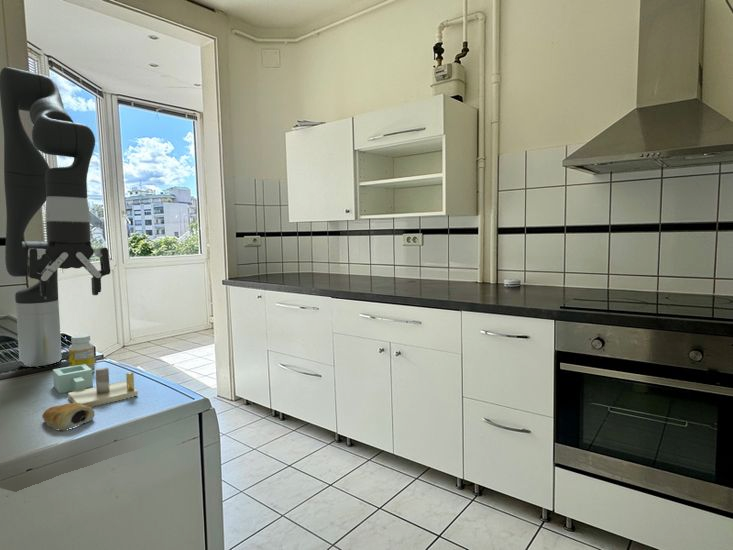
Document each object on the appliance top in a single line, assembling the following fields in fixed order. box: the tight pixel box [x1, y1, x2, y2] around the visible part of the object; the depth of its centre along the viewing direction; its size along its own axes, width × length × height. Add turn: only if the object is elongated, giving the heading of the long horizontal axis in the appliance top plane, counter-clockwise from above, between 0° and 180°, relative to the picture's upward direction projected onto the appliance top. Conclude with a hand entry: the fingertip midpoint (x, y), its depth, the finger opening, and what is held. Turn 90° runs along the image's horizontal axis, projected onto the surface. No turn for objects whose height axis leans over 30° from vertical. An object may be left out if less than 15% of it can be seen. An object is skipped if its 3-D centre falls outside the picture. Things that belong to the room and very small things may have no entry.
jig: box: [67, 367, 138, 408], centre depth 94 cm, size 9×11×6 cm
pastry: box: [41, 402, 96, 430], centre depth 82 cm, size 9×7×4 cm
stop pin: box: [125, 372, 135, 391], centre depth 95 cm, size 1×1×4 cm
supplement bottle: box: [68, 334, 96, 374], centre depth 110 cm, size 5×5×10 cm
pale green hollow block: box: [52, 364, 94, 394], centre depth 99 cm, size 10×6×4 cm, turn 45°
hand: (71, 296), depth 92 cm, fingers open, 8 cm apart
